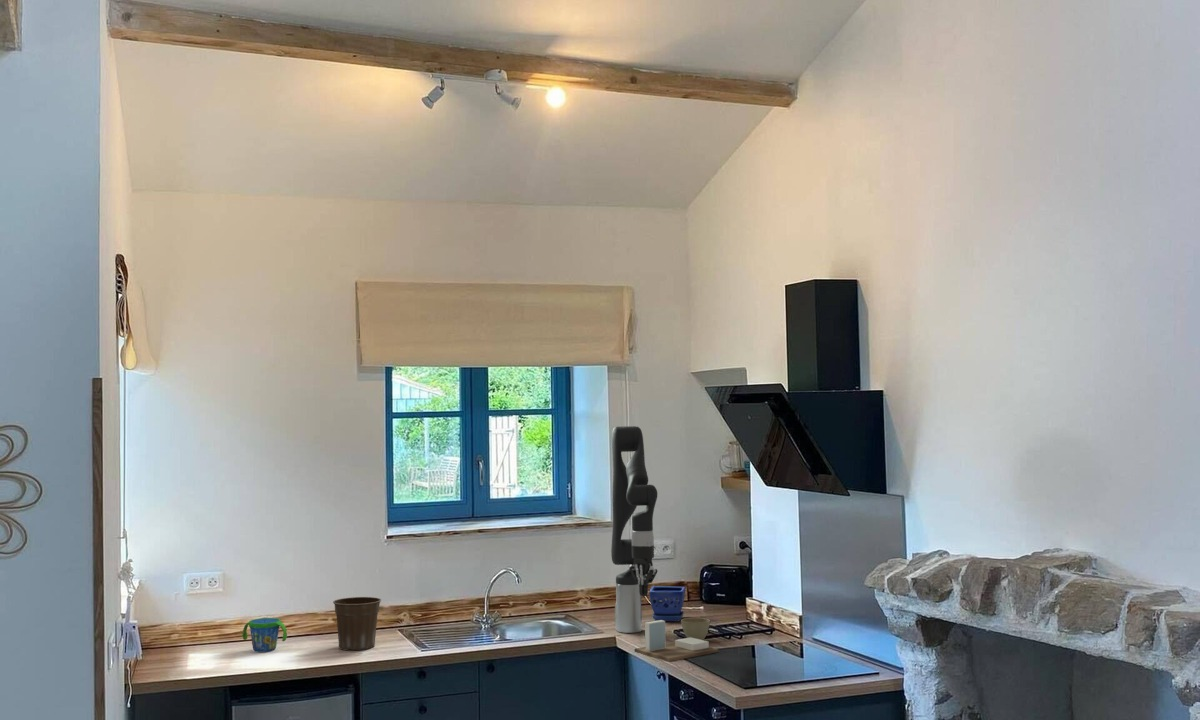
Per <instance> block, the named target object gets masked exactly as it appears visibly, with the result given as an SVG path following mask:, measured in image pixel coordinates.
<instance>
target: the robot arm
mask: <svg viewBox="0 0 1200 720" xmlns="http://www.w3.org/2000/svg"><path fill="white" fill-rule="evenodd" d="M643 435H644V434H643V431H642V429H641V428H640V427H639V426H636V425H635V426H629V425H628V426H615V427H613V429H612V432H611V449H612V452H611V453H612V532H611V534H612V535H611V547H610V548H611V549H610V552H611V554H610V555H611V561H612V563H613V565H616V566H619V565H620V566H625V565H626V566H628V565H631V566H629V569H628V570H626V571H624V572H621V573H619V574H617V575H616V576H615V598H616V600H615V602H616V603H615V604H614V621H615V622H614V624H615V625H614V626H615V630H616V631H617V632H618V633H625V634H626V633H627V634H629V633H630V634H633V633H639V632H641V631H643V626H642V621H643V619H642V614H643V613H642V597H647V596H648V593H649V587H648V586H649V584H652V583H653V582H654V579H655V578H656V575H657V573H658V569H657V568H654V567H653V566H654V565H653V559H654V557H655V543H654V542H655V541H654V540H655V539H654V527H653V524H654V522H653V521H654V520H653V518H654V512H655V507H656V502H657V500H658V490H657V488H656V486H655V485H654V484H649V476H648V475H649V474H648V471H647V468H646V459H645V458H646V457H645V447H644V445H645V444H644V436H643ZM623 452H624V453H625V452H626V453H629V452H631V453H632V452H634V453H633V455H632V456H631V458H630V459H629V460H628V462H627V464H625V462H624V459H623V456H622V453H623ZM638 506H646V507H645V509H644V510H642V511H639V512H635V511H636V509H637V507H638ZM634 512H635V513H634ZM630 519H631V538H627V539H625V538H624V539H622V536H623V531H624V529H625V527H626V525H627V524H628V522H629V520H630Z"/></svg>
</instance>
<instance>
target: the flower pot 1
mask: <svg viewBox="0 0 1200 720" xmlns="http://www.w3.org/2000/svg"><path fill="white" fill-rule="evenodd" d="M648 593H649V601H650V606H651V609H652V611H653V613H652V619H653V621H658V620H664V621H665V622H679V621H681V620H682V619H683V616H684V611H683V610H682V609H683V606H684V603H685V602H684V601H685V596H686V587H685V586H668V585H667V586H662V585H660V586H656V585H655V586H652V587H650V590H648Z"/></svg>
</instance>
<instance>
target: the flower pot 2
mask: <svg viewBox="0 0 1200 720" xmlns="http://www.w3.org/2000/svg"><path fill="white" fill-rule="evenodd" d="M680 623H681V627H682V631H683V633H684V636H685V638H690V637H692V638H696V639H700V640H704V641H705V638H706V636H707V634H708V633H709V628H710V623H711V620H710V619H709V618H705V617H687V618H681V619H680Z"/></svg>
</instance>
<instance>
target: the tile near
mask: <svg viewBox="0 0 1200 720" xmlns="http://www.w3.org/2000/svg"><path fill="white" fill-rule="evenodd" d="M644 632H645V633H644V634H645V635H644V636H645V637H644V638H645V639H644V641H645V642H644V643H645V644H644V645H645V646H644V647H645V650H647V651H653V650H659V649H664V648H666V643H667V642H666V621H664V620H658V621H655V620H653V621H647V622H644Z"/></svg>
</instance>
